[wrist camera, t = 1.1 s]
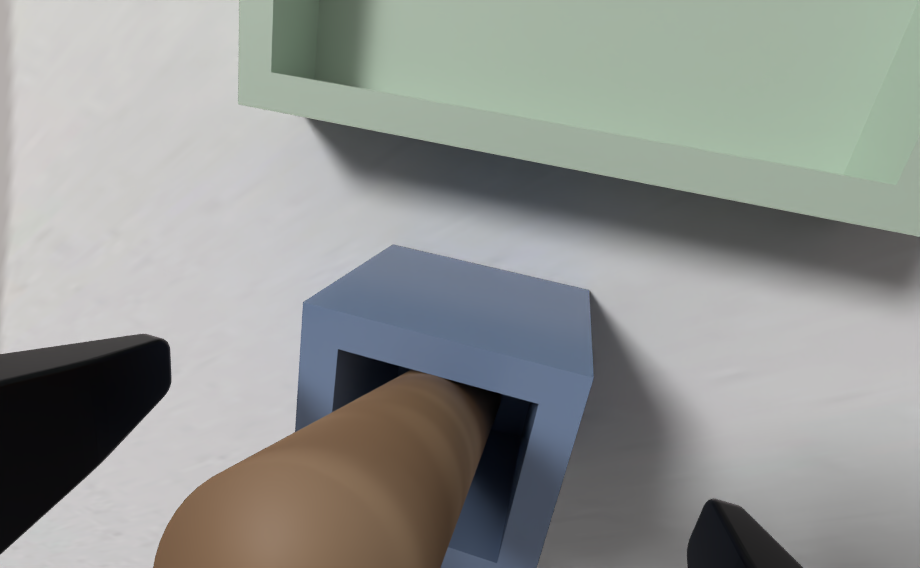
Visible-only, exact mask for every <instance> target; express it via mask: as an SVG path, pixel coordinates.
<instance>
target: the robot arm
mask: <svg viewBox="0 0 920 568" xmlns="http://www.w3.org/2000/svg"><path fill="white" fill-rule="evenodd" d="M170 385H171V357H170V346H169V344H168V342H167V341H166V340H164V339H162V338H158V337H155V336H151V335H148V334H137V335H130V336H124V337H117V338H110V339H103V340H96V341H89V342H82V343H75V344H68V345H61V346H54V347H48V348H41V349H34V350H27V351H20V352H13V353H6V354H0V554H1V553H3V552H4V551H5V550H6V549H7V548H8V547H9V546H10V545H11V544H13V543H14V542H15V541H16V540H17V539H18V538H19V537H20V536H21V535H23V534H24V533H25V532H26V531H27V530H28V529H29V528H30V527H31V526H33V525H34V524H35V523H36V522H37V521H38V520H39V519H40V518H41V517H43V516H44V515H45V514H46V513H47V512H48V511H49V510H50V509H51V508H53V507H54V506H55V505H56V504H57V503H58V502H59V501H60V500H61V499H63V498H64V497H65V496H66V495H67V494H68V493H69V492H70V491H71V490H73V489H74V488H75V487H76V486H77V485H78V484H79V483H80V482H81V481H82V480H84V479H85V478H86V477H87V476H88V475H89V474H90V473H91V472H92V471H93V470H94V469H95V468H97V467H98V466H99V465H100V464H101V463H102V462H103V461H104V460H105V459H106V458H107V457H108V456H109V455H110V454H111V452H112V451H113V450H114V449H115V448H116V447H117V446H118V445H119V444H120V443H121V442H122V441H123V440H124V439H125V438H126V437H127V435H128V434H129V433H130V432H131V431H132V430H133V429H134V428H135V427H136V426H137V425H138V424H139V423H140V422H141V421H142V419H143V418H144V417H145V416H146V415H147V414H148V413H149V412H150V411H151V410H152V409H153V408H154V407H155V406H156V405H157V404H158V402H159V401H160V400H161V399H162V398H163V397H164V396H165V395H166V393H167V392H168V390H169V388H170ZM687 564H688V568H803V567H802V566H801V565H800V564H799V563H798V562H797V561H796V560H795V559H794V558H793V557H792V556H791V555H790V554H789V553H788V552H787V551H786V550H785V549H784V548H783V547H782V546H781V545H780V544H779V543H778V542H777V541H776V540H775V539H774V538H773V537H772V536H771V535H770V534H769V533H768V532H767V531H765V530H764V529H763V528H762V527H761V526H760V525H759V524H758V523H757V522H756V521H755V520H754V519H753V518H752V517H751V516H750V515H749V514H748V513H747V512H746V511H745V510H744V509H743V508H742V507H740V506H738V505H735V504H732V503H728V502H725V501H721V500H718V499H710V500H708V501H707V502H706V503H705V505H704V507H703V509H702V512H701V514H700V516H699V518H698V521H697V523H696V525H695V528H694V530H693V532H692V535H691V537H690V539H689V543H688V548H687Z"/></svg>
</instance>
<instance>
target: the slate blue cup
mask: <svg viewBox="0 0 920 568" xmlns="http://www.w3.org/2000/svg"><path fill="white" fill-rule="evenodd" d="M412 369H413V370H416V371H420V372H424V373H427V374H431V375H435V376H438V377H442V378H445V379H449V380H453V381H456V382H460V383H464V384H467V385H471V386H475V387H478V388H482V389H486V390H489V391H493V392H497V393H500V394H502V395H501V402H500V406H499V409H498V412H497V414H496V417H495V420H494V423H493V425H492V428H491V431H490V433H489V436H488V439H487V442H486V444H485V447H484V450H483V453H482V455H481V458H480V461H479V464H478V466H477V469H476V472H475V475H474V477H473V480H472V483H471V486H470V488H469V491H468V494H467V497H466V499H465V502H464V505H463V507H462V510H461V513H460V516H459V518H458V521H457V524H456V527H455V529H454V532H453V535H452V538H451V540H450V543H449V546H448V549H447V551H446V554H445V557H444V560H443V562H442V565H441V568H537V565H538V561H539V558H540V555H541V551H542V548H543V545H544V541H545V538H546V535H547V532H548V528H549V525H550V522H551V518H552V515H553V512H554V508H555V505H556V502H557V498H558V495H559V492H560V488H561V485H562V482H563V478H564V475H565V472H566V468H567V465H568V462H569V458H570V455H571V452H572V448H573V445H574V442H575V438H576V435H577V432H578V429H579V425H580V422H581V419H582V415H583V412H584V409H585V405H586V402H587V399H588V395H589V392H590V389H591V385H592V382H593V379H594V374H593V354H592V335H591V316H590V297H589V290H586V289H582V288H578V287H573V286H569V285H565V284H561V283H556V282H552V281H548V280H543V279H539V278H535V277H530V276H526V275H522V274H518V273H513V272H509V271H505V270H500V269H496V268H492V267H487V266H483V265H479V264H475V263H470V262H466V261H462V260H457V259H453V258H449V257H444V256H440V255H436V254H432V253H427V252H423V251H419V250H414V249H410V248H406V247H401V246H397V245H391V246H390V247H388V248H387V249H385V250H383V251H382V252H380V253H379V254H377V255H376V256H374V257H373V258H371V259H369V260H368V261H366V262H365V263H363V264H362V265H360V266H359V267H357V268H356V269H354V270H352V271H351V272H349V273H348V274H346V275H345V276H343V277H342V278H340V279H338V280H337V281H335V282H334V283H332V284H331V285H329V286H328V287H326V288H324V289H323V290H321V291H320V292H318V293H317V294H315V295H314V296H312V297H311V298H309V299H307V300H306V301H304V302H303V313H302V330H301V346H300V362H299V378H298V395H297V411H296V427H295V432H297V431H298V430H300V429H302V428H304V427H306V426H308V425H310V424H311V423H313V422H315V421H317V420H319V419H321V418H323V417H324V416H326V415H328V414H330V413H332V412H334V411H336V410H337V409H339V408H341V407H343V406H345V405H347V404H349V403H350V402H352V401H354V400H356V399H358V398H360V397H361V396H363V395H365V394H367V393H369V392H371V391H373V390H374V389H376V388H378V387H380V386H382V385H384V384H386V383H387V382H389V381H391V380H393V379H395V378H397V377H399V376H400V375H402V374H404V373H406V372H408V371H410V370H412Z"/></svg>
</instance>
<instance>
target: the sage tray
mask: <svg viewBox="0 0 920 568" xmlns="http://www.w3.org/2000/svg"><path fill="white" fill-rule="evenodd" d="M238 104H239V105H244V106H249V107H254V108H259V109H264V110H270V111H275V112H280V113H285V114H290V115H295V116H301V117H306V118H311V119H316V120H321V121H326V122H331V123H337V124H342V125H347V126H352V127H357V128H362V129H367V130H373V131H378V132H383V133H388V134H393V135H398V136H403V137H409V138H414V139H419V140H424V141H429V142H434V143H439V144H445V145H450V146H455V147H460V148H465V149H470V150H475V151H481V152H486V153H491V154H496V155H501V156H506V157H511V158H517V159H522V160H527V161H532V162H537V163H542V164H547V165H553V166H558V167H563V168H568V169H573V170H578V171H583V172H589V173H594V174H599V175H604V176H609V177H614V178H619V179H625V180H630V181H635V182H640V183H645V184H650V185H655V186H661V187H666V188H671V189H676V190H681V191H686V192H692V193H697V194H702V195H707V196H712V197H717V198H722V199H728V200H733V201H738V202H743V203H748V204H753V205H758V206H764V207H769V208H774V209H779V210H784V211H789V212H794V213H800V214H805V215H810V216H815V217H820V218H825V219H830V220H836V221H841V222H846V223H851V224H856V225H861V226H866V227H872V228H877V229H882V230H887V231H892V232H897V233H902V234H908V235H913V236H918V237H920V0H239V71H238Z"/></svg>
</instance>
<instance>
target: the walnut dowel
mask: <svg viewBox="0 0 920 568" xmlns="http://www.w3.org/2000/svg"><path fill="white" fill-rule="evenodd" d="M501 395H502V394H500V393H497V392H493V391H489V390H486V389H482V388H478V387H475V386H471V385H467V384H464V383H460V382H456V381H453V380H449V379H445V378H442V377H438V376H435V375H431V374H427V373H424V372H420V371H416V370H413V369H412V370H410V371H408V372H406V373H404V374H402V375H400V376H399V377H397V378H395V379H393V380H391V381H389V382H387V383H386V384H384V385H382V386H380V387H378V388H376V389H374V390H373V391H371V392H369V393H367V394H365V395H363V396H361V397H360V398H358V399H356V400H354V401H352V402H350V403H349V404H347V405H345V406H343V407H341V408H339V409H337V410H336V411H334V412H332V413H330V414H328V415H326V416H324V417H323V418H321V419H319V420H317V421H315V422H313V423H311V424H310V425H308V426H306V427H304V428H302V429H300V430H298V431H297V432H295V433H293V434H291V435H289V436H287V437H285V438H284V439H282V440H280V441H278V442H276V443H274V444H273V445H271V446H269V447H267V448H265V449H263V450H261V451H260V452H258V453H256V454H254V455H252V456H250V457H248V458H247V459H245V460H243V461H241V462H239V463H237V464H235V465H234V466H232V467H230V468H228V469H226V470H224V471H222V472H221V473H219V474H217V475H215V476H213V477H211V478H210V479H209V480H207V481H206V482H204V483H203V484H202V485H200V486H199V487H198V488H197V489H195V490H194V491H193V492H192V493H191V494H190V495H189V496H188V497H187V498H186V499H185V500H184V502H183V503H182V504H181V505H180V507H179V508H178V509H177V510H176V512H175V513H174V515H173V517H172V518H171V520H170V522H169V523H168V525H167V527H166V529H165V531H164V534H163V536H162V538H161V540H160V543H159V547H158V550H157V553H156V556H155V561H154V566H153V568H441V565H442V562H443V560H444V557H445V554H446V551H447V549H448V546H449V543H450V540H451V538H452V535H453V532H454V529H455V527H456V524H457V521H458V518H459V516H460V513H461V510H462V507H463V505H464V502H465V499H466V497H467V494H468V491H469V488H470V486H471V483H472V480H473V477H474V475H475V472H476V469H477V466H478V464H479V461H480V458H481V455H482V453H483V450H484V447H485V444H486V442H487V439H488V436H489V433H490V431H491V428H492V425H493V423H494V420H495V417H496V414H497V412H498V409H499V406H500V402H501Z"/></svg>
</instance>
